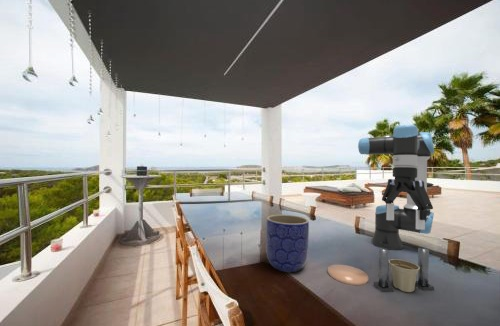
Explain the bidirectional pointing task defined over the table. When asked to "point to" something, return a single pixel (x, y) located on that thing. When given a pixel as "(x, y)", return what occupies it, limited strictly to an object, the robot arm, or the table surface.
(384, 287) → the post
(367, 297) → the table surface
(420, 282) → the post
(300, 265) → the planter
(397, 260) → the flower pot
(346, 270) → the saucer
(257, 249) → the table surface
